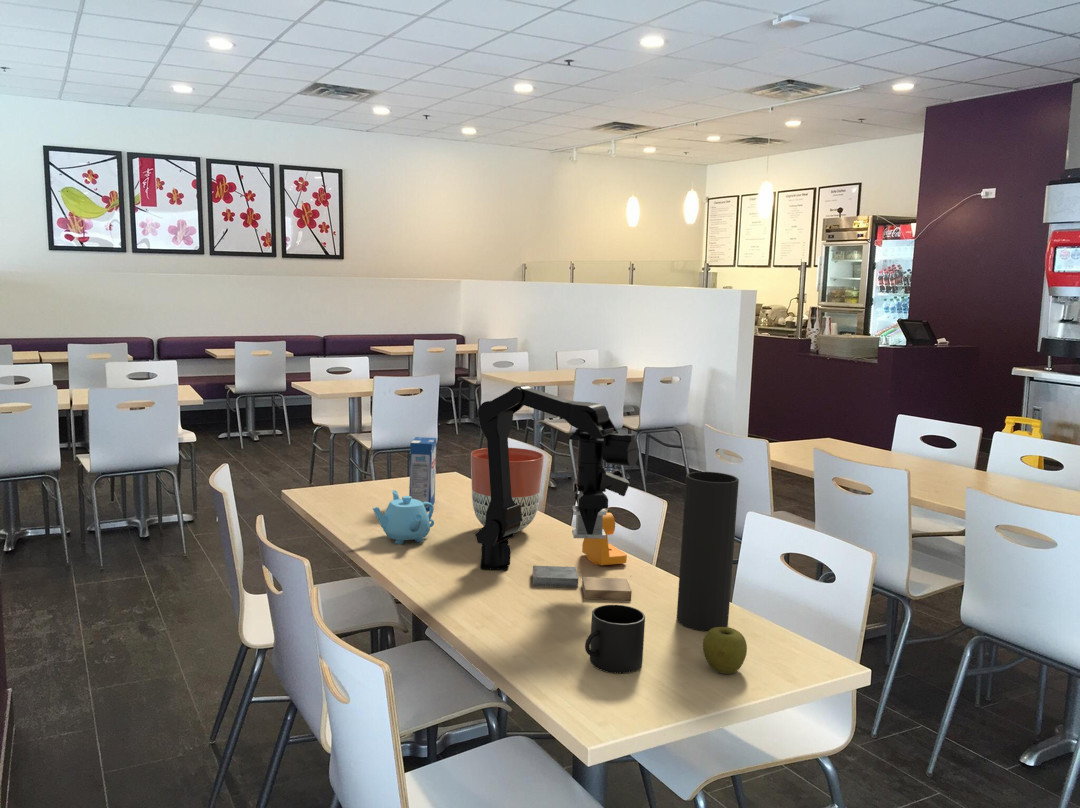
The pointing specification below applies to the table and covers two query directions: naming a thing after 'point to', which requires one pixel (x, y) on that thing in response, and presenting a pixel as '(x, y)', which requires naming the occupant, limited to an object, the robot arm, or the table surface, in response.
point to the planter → (522, 479)
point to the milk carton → (423, 470)
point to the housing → (581, 530)
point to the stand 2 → (606, 588)
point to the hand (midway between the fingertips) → (588, 530)
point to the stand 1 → (555, 576)
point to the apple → (724, 649)
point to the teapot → (405, 519)
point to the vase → (707, 550)
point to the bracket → (603, 546)
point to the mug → (616, 638)
